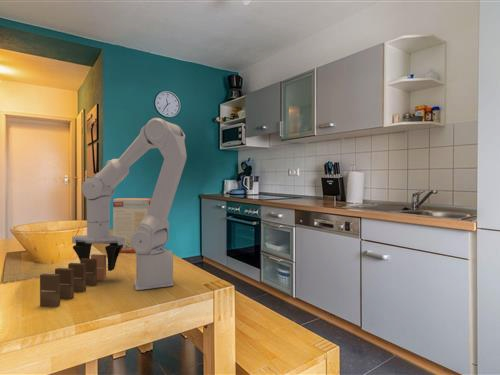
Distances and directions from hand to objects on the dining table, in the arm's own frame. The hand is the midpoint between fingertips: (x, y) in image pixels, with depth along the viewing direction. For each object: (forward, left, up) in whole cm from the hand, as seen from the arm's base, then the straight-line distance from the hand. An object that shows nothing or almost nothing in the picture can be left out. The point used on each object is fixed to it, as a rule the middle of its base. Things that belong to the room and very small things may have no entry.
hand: (98, 269), depth 86 cm
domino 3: (+4, +8, -3) cm, 9 cm away
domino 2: (+7, +12, -3) cm, 14 cm away
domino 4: (+2, +4, -3) cm, 5 cm away
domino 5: (0, 0, -3) cm, 3 cm away
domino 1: (+9, +16, -3) cm, 18 cm away
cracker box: (-11, -32, -3) cm, 34 cm away
